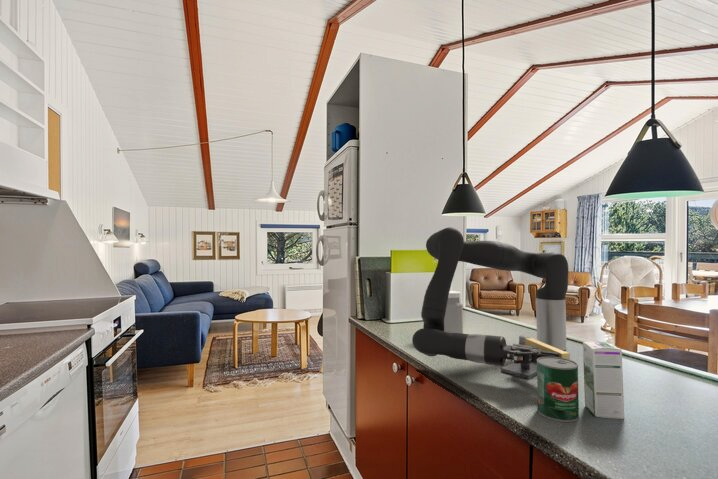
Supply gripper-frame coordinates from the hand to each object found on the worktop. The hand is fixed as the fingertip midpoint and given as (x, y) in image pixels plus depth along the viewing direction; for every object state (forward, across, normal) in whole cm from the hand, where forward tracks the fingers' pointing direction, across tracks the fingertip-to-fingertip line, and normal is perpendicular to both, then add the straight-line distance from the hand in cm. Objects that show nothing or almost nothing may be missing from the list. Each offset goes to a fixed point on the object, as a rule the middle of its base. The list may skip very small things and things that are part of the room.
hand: (558, 358), depth 90 cm
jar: (-40, +41, +6) cm, 58 cm away
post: (-10, +14, +8) cm, 19 cm away
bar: (-5, +8, +1) cm, 9 cm away
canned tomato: (0, -12, +9) cm, 15 cm away
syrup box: (+9, -6, +9) cm, 14 cm away
